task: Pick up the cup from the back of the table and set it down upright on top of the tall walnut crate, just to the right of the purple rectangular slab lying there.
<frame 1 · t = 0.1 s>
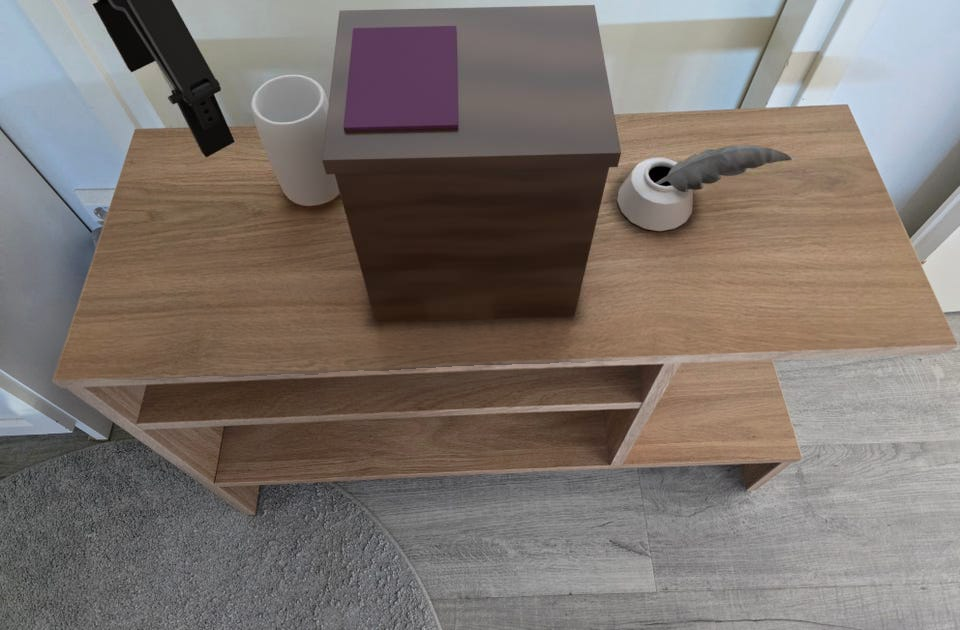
hand: (179, 104, 59), 23 cm above the table, tool pointing down, fingers open, 13 cm apart
inkwell: (690, 203, 83), on the table
crate: (473, 256, 79), on the table
cup: (316, 188, 85), on the table
purple rectangular slab: (403, 77, 57), resting on crate
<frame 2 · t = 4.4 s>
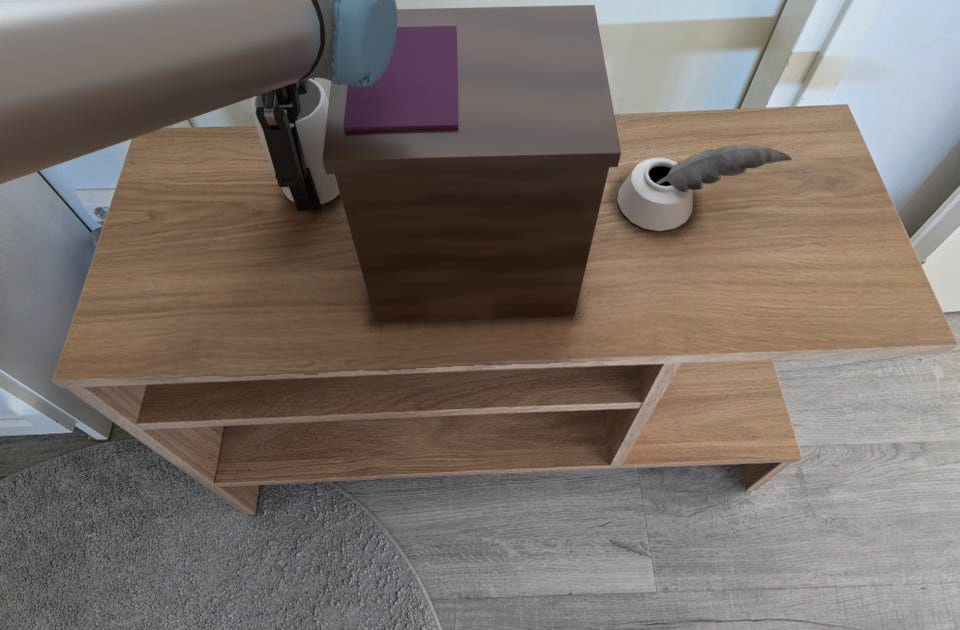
hand: (313, 178, 83), 2 cm above the table, tool pointing down, fingers closed on cup, 8 cm apart
cup: (316, 188, 85), on the table, touching gripper
everything else where it was.
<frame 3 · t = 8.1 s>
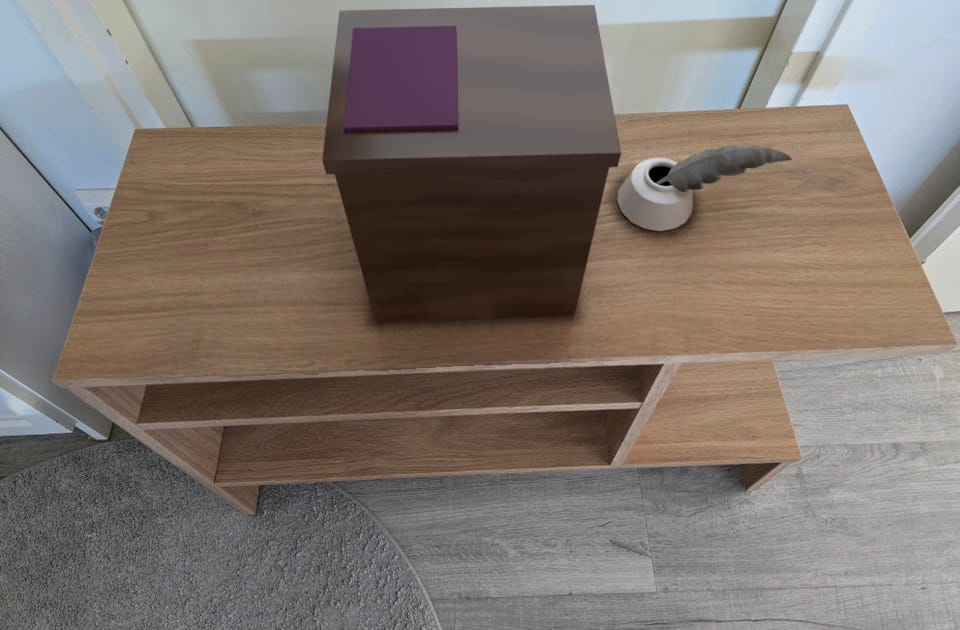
when the fingers open (28 cm above the table, at t = 12.0 s): cup stays where it is, resting on crate.
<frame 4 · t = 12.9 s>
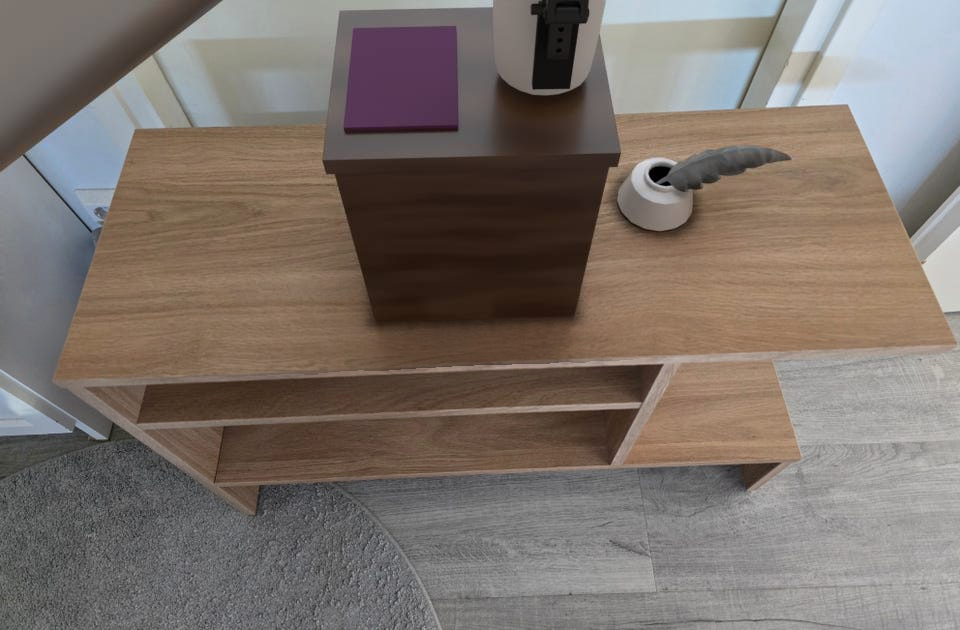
hand: (544, 25, 53), 31 cm above the table, tool pointing down, fingers open, 13 cm apart
cup: (541, 76, 57), point 26 cm above the table, touching crate
everything else where it was.
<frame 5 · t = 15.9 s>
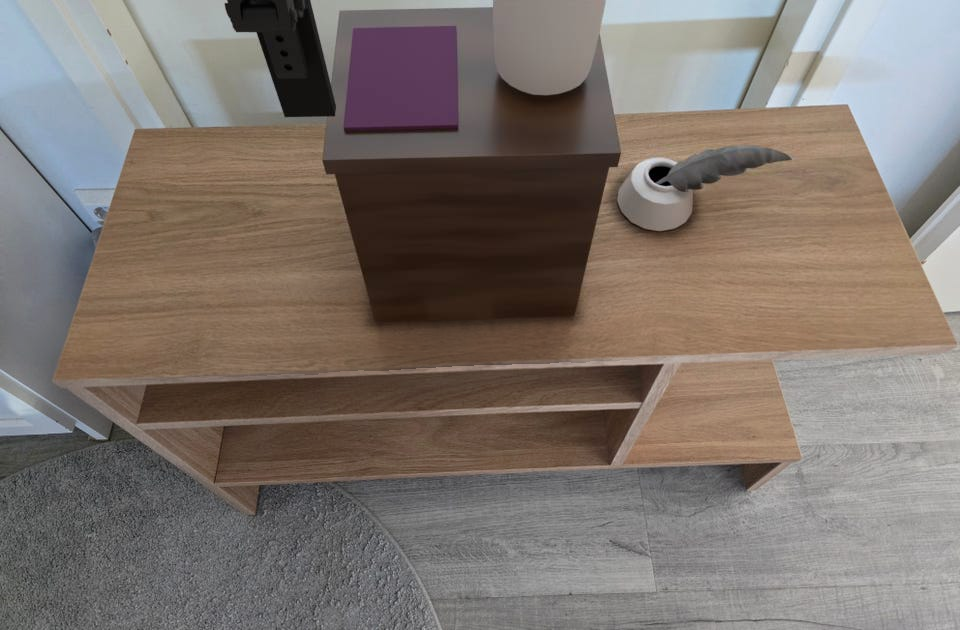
hand: (322, 30, 40), 39 cm above the table, tool pointing down, fingers open, 13 cm apart
nothing on the table moved.
at the end: cup inside the target area on the table beside the purple rectangular slab (0.1 cm from its centre), resting on crate; cup tilted 0°; cup touching crate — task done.
